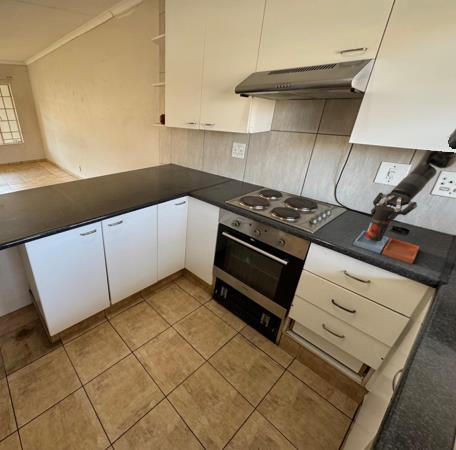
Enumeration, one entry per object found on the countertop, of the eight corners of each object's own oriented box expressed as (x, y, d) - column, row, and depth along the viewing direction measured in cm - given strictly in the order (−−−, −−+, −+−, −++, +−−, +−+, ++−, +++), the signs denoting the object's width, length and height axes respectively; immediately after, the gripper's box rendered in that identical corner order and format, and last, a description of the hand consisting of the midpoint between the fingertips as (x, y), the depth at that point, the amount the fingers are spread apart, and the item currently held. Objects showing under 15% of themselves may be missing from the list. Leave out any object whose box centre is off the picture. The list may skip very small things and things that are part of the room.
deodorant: (384, 241, 110) (399, 210, 104) (371, 241, 111) (384, 210, 104) (374, 234, 116) (387, 205, 109) (361, 234, 116) (374, 205, 109)
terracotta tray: (417, 250, 108) (419, 246, 107) (411, 263, 100) (414, 259, 99) (389, 241, 115) (390, 238, 114) (381, 253, 106) (383, 249, 105)
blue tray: (387, 241, 115) (389, 237, 114) (379, 253, 107) (381, 249, 106) (362, 234, 122) (363, 230, 121) (353, 244, 113) (354, 240, 112)
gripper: (388, 177, 110) (361, 206, 111) (430, 186, 98) (398, 218, 99) (391, 187, 114) (364, 214, 115) (431, 197, 102) (400, 228, 103)
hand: (380, 216), depth 107 cm, fingers closed on deodorant, 6 cm apart
